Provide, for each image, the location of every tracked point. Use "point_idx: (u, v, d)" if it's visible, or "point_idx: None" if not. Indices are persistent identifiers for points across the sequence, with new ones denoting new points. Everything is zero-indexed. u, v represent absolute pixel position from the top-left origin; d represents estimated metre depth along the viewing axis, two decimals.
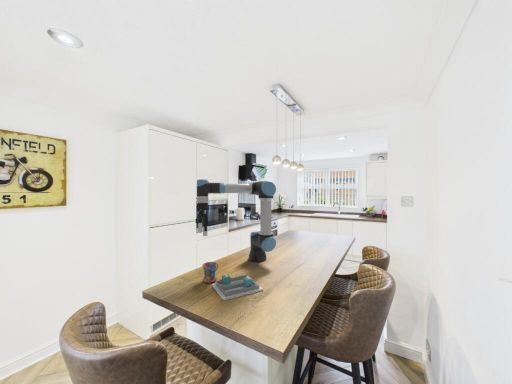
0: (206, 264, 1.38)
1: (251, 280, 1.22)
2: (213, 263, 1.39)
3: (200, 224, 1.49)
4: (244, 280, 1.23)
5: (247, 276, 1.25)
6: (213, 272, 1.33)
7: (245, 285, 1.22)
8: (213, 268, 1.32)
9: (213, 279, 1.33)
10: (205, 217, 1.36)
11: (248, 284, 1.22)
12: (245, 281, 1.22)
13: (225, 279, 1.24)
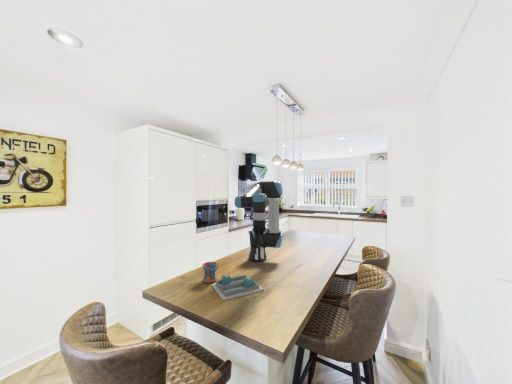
0: (206, 264, 1.38)
1: (251, 280, 1.22)
2: (213, 263, 1.39)
3: (261, 249, 1.28)
4: (244, 280, 1.23)
5: (247, 276, 1.25)
6: (213, 272, 1.33)
7: (245, 285, 1.22)
8: (213, 268, 1.32)
9: (213, 279, 1.33)
10: (250, 239, 1.24)
11: (248, 284, 1.22)
12: (245, 281, 1.22)
13: (225, 279, 1.24)
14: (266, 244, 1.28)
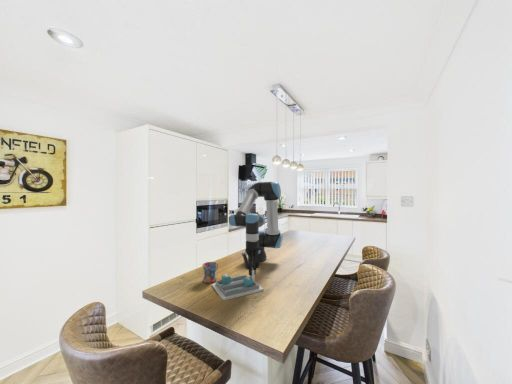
0: (206, 264, 1.38)
1: (251, 280, 1.22)
2: (213, 263, 1.39)
3: None
4: (244, 280, 1.23)
5: (247, 276, 1.25)
6: (213, 272, 1.33)
7: (245, 285, 1.22)
8: (213, 268, 1.32)
9: (213, 279, 1.33)
10: (244, 261, 1.23)
11: (248, 284, 1.22)
12: (245, 281, 1.22)
13: (225, 279, 1.24)
14: (257, 266, 1.25)
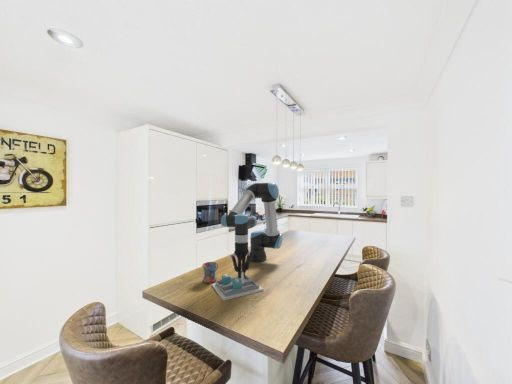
0: (206, 264, 1.38)
1: (240, 282, 1.19)
2: (213, 263, 1.39)
3: None
4: (233, 282, 1.20)
5: None
6: (213, 272, 1.33)
7: (234, 288, 1.18)
8: (213, 268, 1.32)
9: (213, 279, 1.33)
10: (233, 263, 1.19)
11: (237, 287, 1.18)
12: (234, 283, 1.19)
13: (225, 279, 1.24)
14: (246, 268, 1.22)
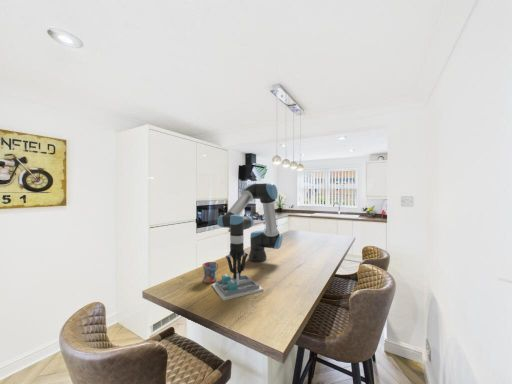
0: (206, 264, 1.38)
1: (235, 284, 1.18)
2: (213, 263, 1.39)
3: None
4: (228, 283, 1.19)
5: None
6: (213, 272, 1.33)
7: (229, 289, 1.17)
8: (213, 268, 1.32)
9: (213, 279, 1.33)
10: (228, 264, 1.18)
11: (232, 288, 1.17)
12: (229, 285, 1.17)
13: (225, 279, 1.24)
14: (242, 269, 1.20)
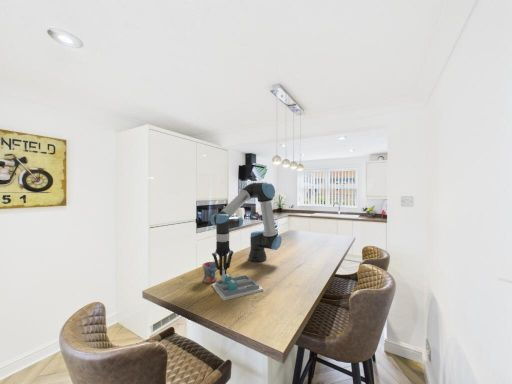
0: (206, 264, 1.38)
1: (235, 284, 1.18)
2: (213, 263, 1.39)
3: None
4: (228, 283, 1.19)
5: None
6: (213, 272, 1.33)
7: (229, 289, 1.17)
8: (213, 268, 1.32)
9: (213, 279, 1.33)
10: (215, 261, 1.24)
11: (232, 288, 1.17)
12: (229, 285, 1.17)
13: (226, 279, 1.25)
14: (228, 266, 1.26)
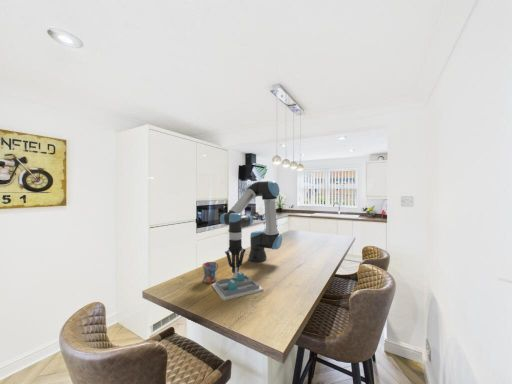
0: (206, 264, 1.38)
1: (235, 284, 1.18)
2: (213, 263, 1.39)
3: None
4: (228, 283, 1.19)
5: None
6: (213, 272, 1.33)
7: (229, 289, 1.17)
8: (213, 268, 1.32)
9: (213, 279, 1.33)
10: (228, 259, 1.27)
11: (232, 288, 1.17)
12: (229, 285, 1.17)
13: (239, 276, 1.29)
14: (240, 263, 1.30)
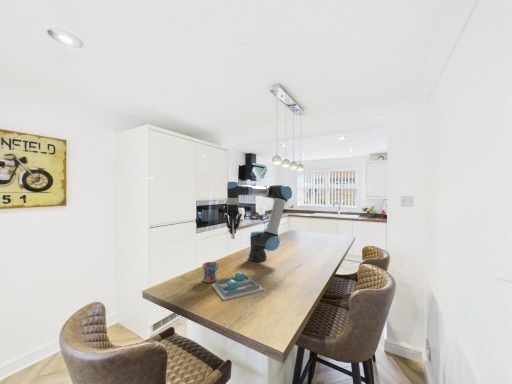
0: (206, 264, 1.38)
1: (235, 284, 1.18)
2: (213, 263, 1.39)
3: None
4: (228, 283, 1.19)
5: None
6: (213, 272, 1.33)
7: (229, 289, 1.17)
8: (213, 268, 1.32)
9: (213, 279, 1.33)
10: (226, 221, 1.44)
11: (232, 288, 1.17)
12: (229, 285, 1.17)
13: (239, 276, 1.29)
14: (237, 226, 1.47)
